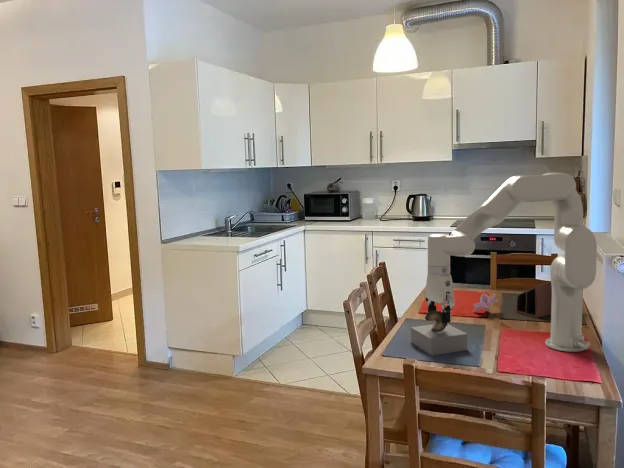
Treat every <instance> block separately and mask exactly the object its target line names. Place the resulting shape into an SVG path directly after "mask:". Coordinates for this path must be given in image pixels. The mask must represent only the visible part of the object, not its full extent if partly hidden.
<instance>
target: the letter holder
mask: <svg viewBox="0 0 624 468" xmlns="http://www.w3.org/2000/svg"><path fill="white" fill-rule="evenodd" d="M551 303H552V284H551V280H550V281H546V282H543V283H541V284H539V285H536V286H535V287H534V288H531V289H529V290H526V291H524V292H521V293H519V294H518V295H517V297H516V310H515V312H516V313H517V314H519V313H520V315H523V316H527V317H532V318H535V319H537V318H541V317H545V315H546V316H549V314H550V315H551Z"/></svg>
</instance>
